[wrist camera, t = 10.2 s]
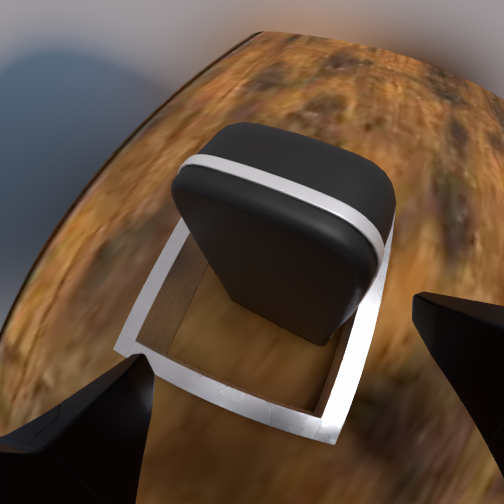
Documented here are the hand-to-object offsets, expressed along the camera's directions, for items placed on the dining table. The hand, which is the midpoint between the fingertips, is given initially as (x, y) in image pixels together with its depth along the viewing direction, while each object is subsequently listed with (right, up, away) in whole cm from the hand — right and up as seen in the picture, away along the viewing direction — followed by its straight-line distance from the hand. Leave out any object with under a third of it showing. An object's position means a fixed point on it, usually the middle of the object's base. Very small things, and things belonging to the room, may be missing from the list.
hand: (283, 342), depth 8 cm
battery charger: (+1, 0, +9) cm, 9 cm away
